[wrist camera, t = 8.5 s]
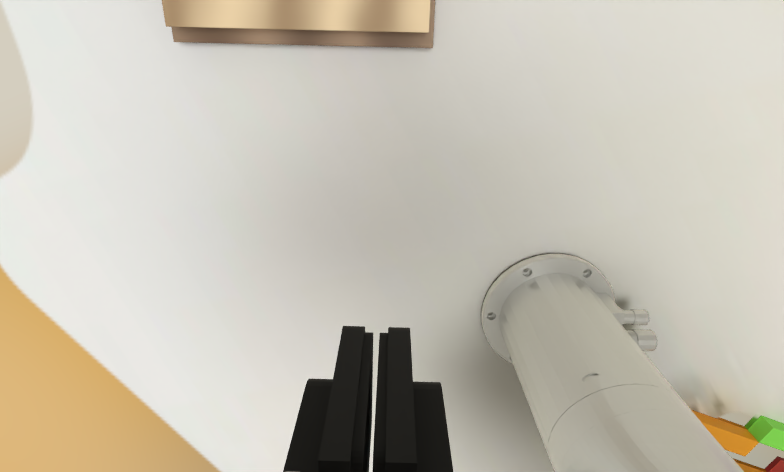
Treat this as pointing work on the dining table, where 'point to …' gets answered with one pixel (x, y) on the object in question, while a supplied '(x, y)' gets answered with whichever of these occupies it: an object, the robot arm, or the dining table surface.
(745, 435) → the toy blocks
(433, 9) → the floor board
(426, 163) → the dining table surface
